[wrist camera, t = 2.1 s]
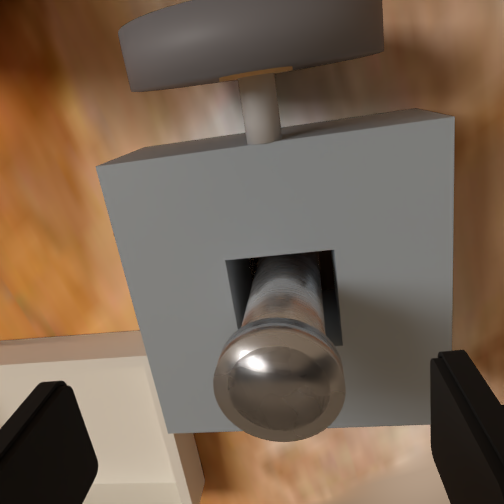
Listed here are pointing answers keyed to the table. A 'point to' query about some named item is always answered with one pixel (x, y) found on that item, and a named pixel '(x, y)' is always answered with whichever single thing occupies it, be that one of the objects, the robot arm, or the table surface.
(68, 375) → the tray
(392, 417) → the tensioner block
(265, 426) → the lock pin
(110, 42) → the table surface
